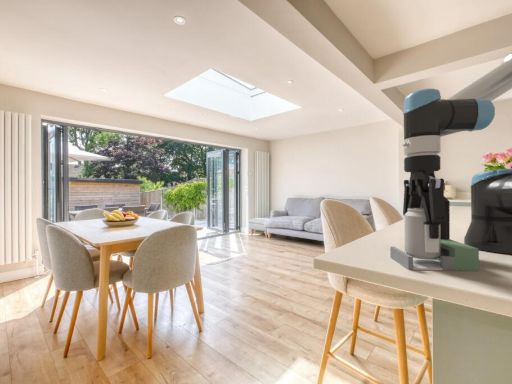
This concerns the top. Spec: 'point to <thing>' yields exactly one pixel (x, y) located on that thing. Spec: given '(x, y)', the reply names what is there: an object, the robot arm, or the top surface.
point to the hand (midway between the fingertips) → (422, 247)
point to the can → (417, 235)
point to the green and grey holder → (442, 258)
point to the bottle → (446, 226)
